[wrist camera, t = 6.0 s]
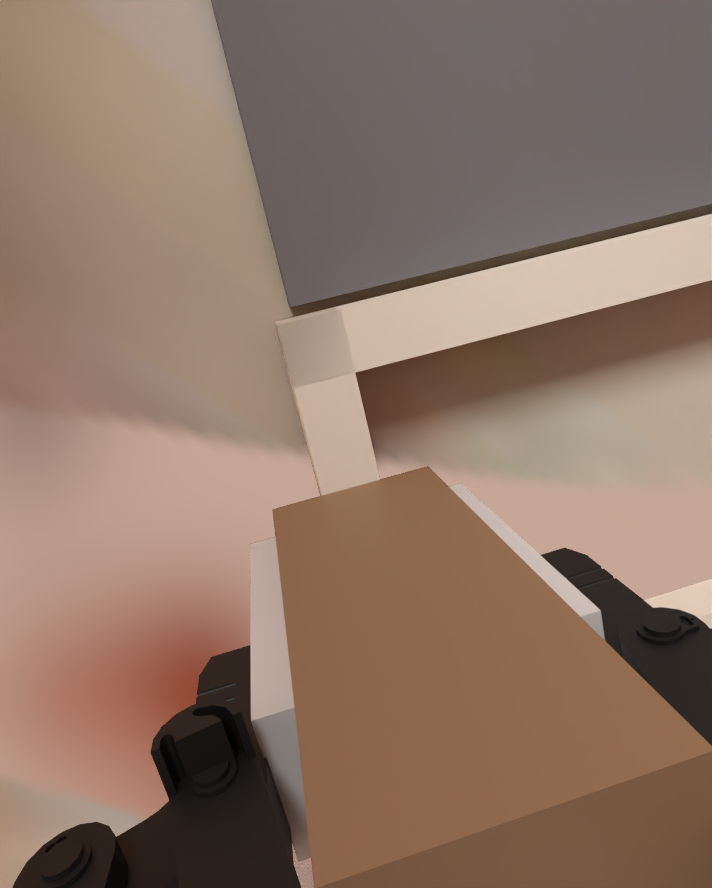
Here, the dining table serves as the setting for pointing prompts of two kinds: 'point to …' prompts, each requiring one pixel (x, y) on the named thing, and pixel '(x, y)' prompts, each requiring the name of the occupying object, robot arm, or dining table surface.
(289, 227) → the coaster
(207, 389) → the dining table surface
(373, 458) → the frame
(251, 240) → the dining table surface
